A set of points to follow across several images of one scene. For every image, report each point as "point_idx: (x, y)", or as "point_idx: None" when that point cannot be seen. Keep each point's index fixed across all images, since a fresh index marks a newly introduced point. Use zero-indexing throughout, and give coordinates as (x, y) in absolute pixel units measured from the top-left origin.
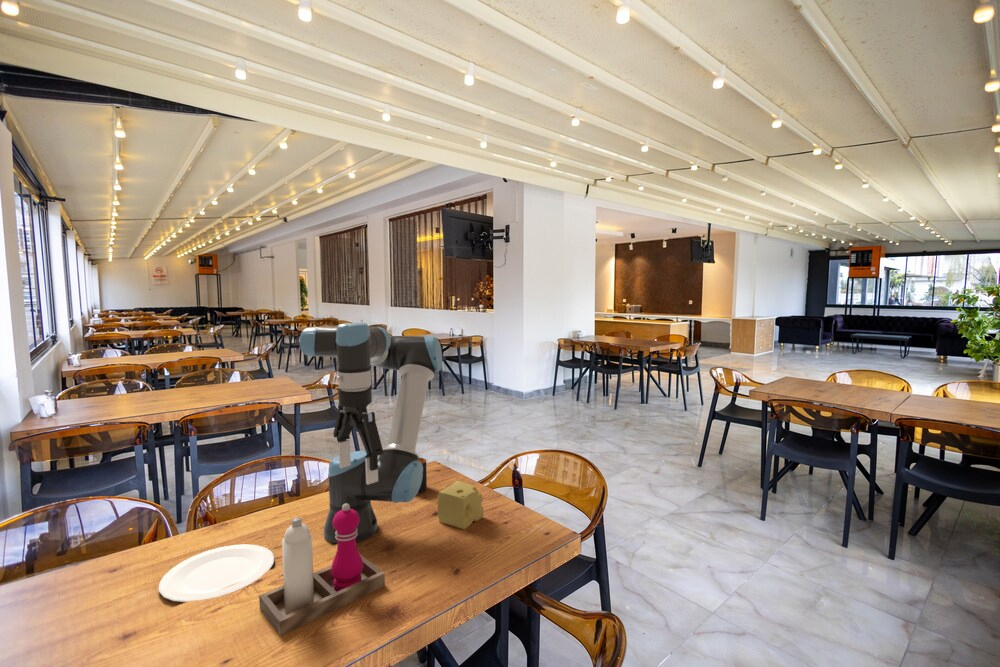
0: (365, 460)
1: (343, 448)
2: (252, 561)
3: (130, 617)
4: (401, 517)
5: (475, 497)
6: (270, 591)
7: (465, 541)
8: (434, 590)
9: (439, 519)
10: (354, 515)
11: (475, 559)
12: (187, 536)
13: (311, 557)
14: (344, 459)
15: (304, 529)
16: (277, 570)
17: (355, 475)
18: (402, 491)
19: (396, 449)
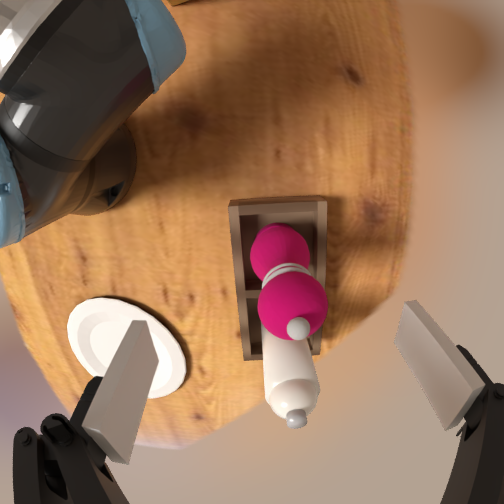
0: (439, 415)
1: (128, 423)
2: (113, 320)
3: (169, 412)
4: None
5: None
6: (244, 349)
7: (276, 5)
8: (373, 136)
9: (172, 4)
10: (322, 304)
11: (342, 32)
12: (31, 344)
13: (307, 353)
14: (144, 373)
15: (312, 402)
16: (149, 301)
17: (42, 186)
18: (178, 64)
19: (38, 25)
